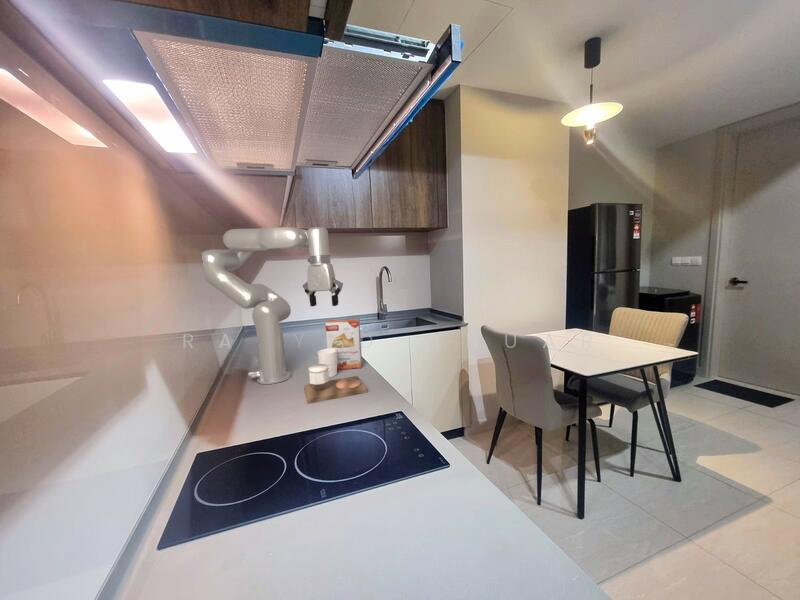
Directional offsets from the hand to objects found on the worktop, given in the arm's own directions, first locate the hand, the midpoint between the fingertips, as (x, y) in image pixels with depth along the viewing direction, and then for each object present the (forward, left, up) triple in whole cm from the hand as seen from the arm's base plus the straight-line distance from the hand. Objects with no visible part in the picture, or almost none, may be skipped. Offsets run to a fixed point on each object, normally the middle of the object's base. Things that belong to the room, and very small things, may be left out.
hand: (324, 305), depth 122 cm
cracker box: (+8, +11, -29) cm, 33 cm away
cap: (-5, -13, -25) cm, 28 cm away
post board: (0, -13, -29) cm, 32 cm away
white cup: (0, +5, -29) cm, 30 cm away
